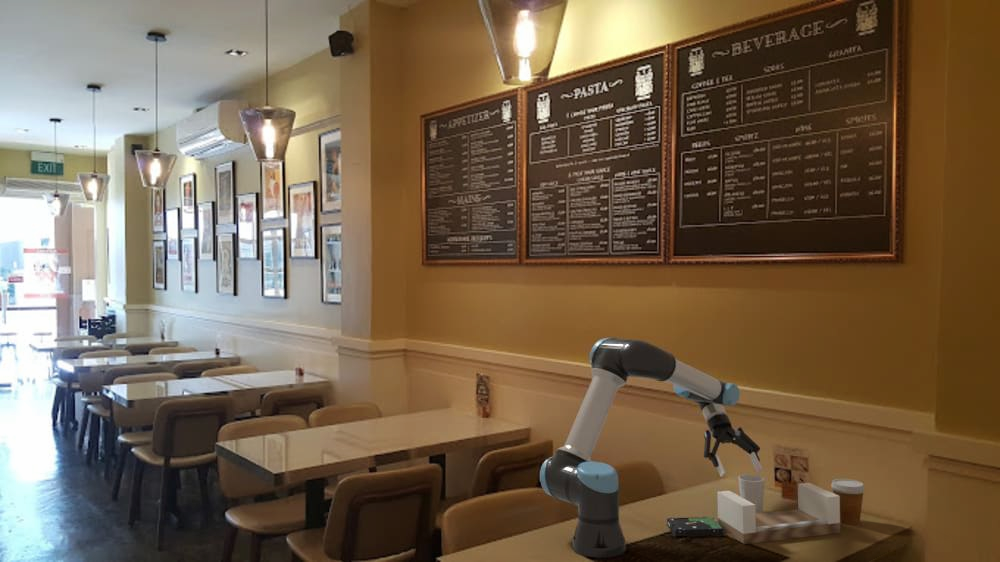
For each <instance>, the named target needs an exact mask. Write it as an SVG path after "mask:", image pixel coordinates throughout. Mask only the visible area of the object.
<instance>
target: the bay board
mask: <svg viewBox="0 0 1000 562" xmlns="http://www.w3.org/2000/svg"><path fill="white" fill-rule="evenodd" d="M755 515H756V532H755V533H747V534H743V533H741V532H740V531H738V530H737V529H735V528H733V527H732V526H730V525H729V524H727V523H725V522H724V521H722V520H721V519H719V518H718V517H717V522H719V523H720V525H721V526H722V527H723V528H724V533H725V534H727V535H729V536H731V537H732V538H733V539H735V540H737V542H739V541H740V542H739V543H740V544H742V543H743V545H749V543H750V544H757V543H765V542H767V543H768V542H773V541H782V540H791V539H793V540H794V539H798V538H801V539H802V538H807V537H808V538H809V537H816V536H825V535H834V534H835V535H836V534H840V533H841V522H840V523H834V524H827V521H826V520H824V519H821V520H819V519H817V518H815V517H813V516H811V515H809V514H807V513H805V512H803V511H801V510H799V509H798V508H797V509H796V508H795V509H787V510H777V511H767V512H763V513H757V514H755Z"/></svg>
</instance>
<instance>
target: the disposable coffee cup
mask: <svg viewBox="0 0 1000 562" xmlns="http://www.w3.org/2000/svg"><path fill="white" fill-rule="evenodd" d="M830 487H831V489H832V493H834V494H836V495H838V496H840V524H845V525H850V526H851V525H852V526H853V525H854V526H855V525H859V524H860V523H861V515H862V507H863V501H864V500H863V497H864V493H865V490H866V488H865V487H864V483H863V482H861V481H859V480H856V479H849V478H837V479H833V480H832V481H831V484H830Z"/></svg>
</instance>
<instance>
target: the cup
mask: <svg viewBox="0 0 1000 562" xmlns="http://www.w3.org/2000/svg"><path fill="white" fill-rule="evenodd" d="M765 481H766V480H765V477H763V476H761V475H757V474H750V473H749V474H740V475H738V486H739V496H740V497H742V498H744V499H746V500H747V501H749V502H751V503H753V504H755V514H757V513H764V511H763V507H764V494H765V492H764V491H765Z"/></svg>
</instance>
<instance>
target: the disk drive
mask: <svg viewBox="0 0 1000 562" xmlns="http://www.w3.org/2000/svg"><path fill="white" fill-rule="evenodd" d="M666 526H667V527H668V529H669V531H670V532H671V533H673V534H672V535H673V537H674V536H675V537H674V538H677V537H676V536H689V537H708V536H707V535H711V536H710V537H720V536H721V537H724V535H725V534H724V533H725V532H724V528H723V527H722V526H721V525H720V523H719V522H718V520H716V519H715V517H711V516H710V517H708V516H701V517H669V518H668V517H667V518H666ZM703 535H704V536H703Z"/></svg>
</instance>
